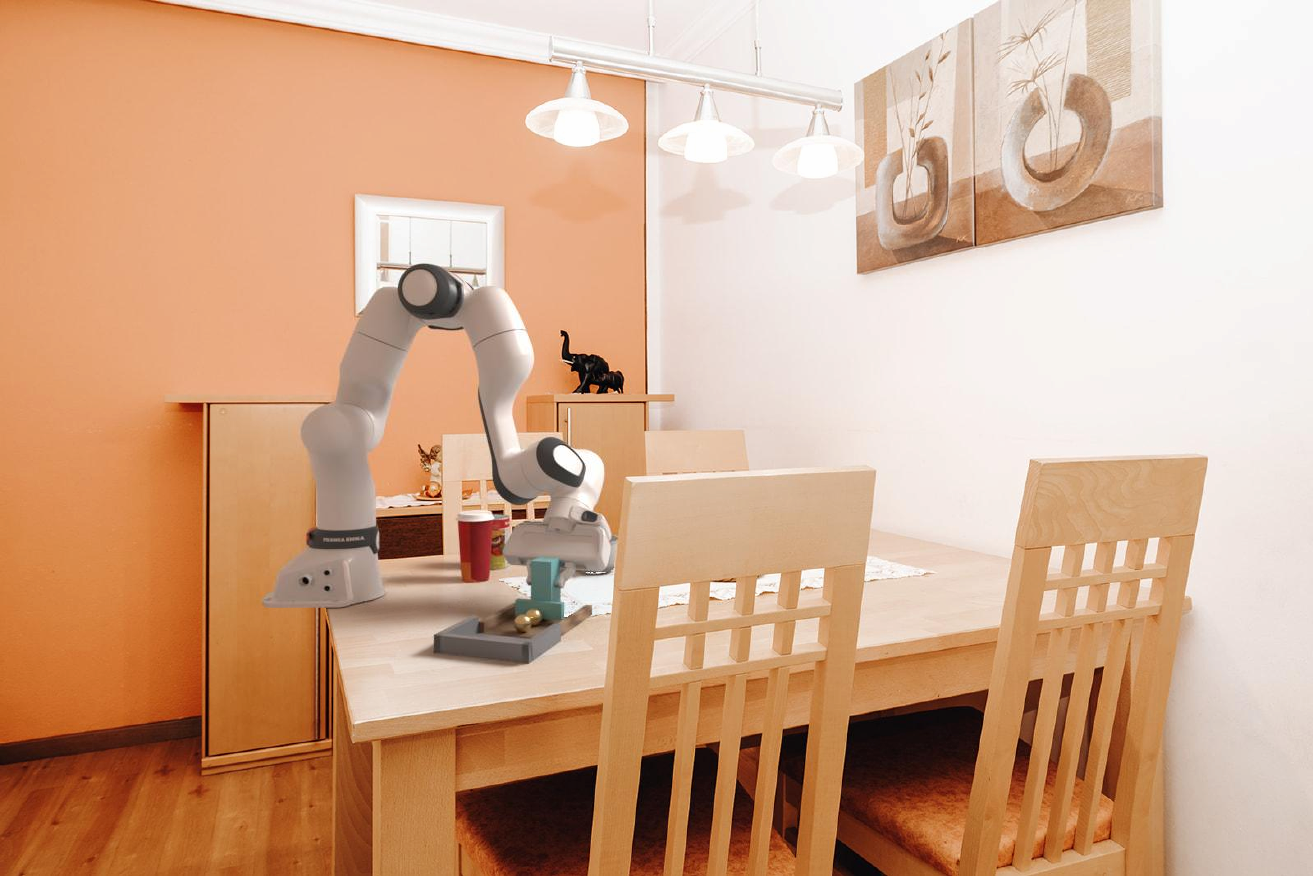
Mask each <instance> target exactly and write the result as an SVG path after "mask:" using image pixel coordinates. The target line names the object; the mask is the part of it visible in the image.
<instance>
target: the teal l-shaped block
mask: <svg viewBox="0 0 1313 876" xmlns="http://www.w3.org/2000/svg"><path fill="white" fill-rule="evenodd" d="M561 572H562V571H561V561H560V558H548V557H538V558H536V559H534V560H531V586H530V599H529V598H516V599H514V603H515V616H516V617H517V616H519V615H522V614H526V612H527V611H528V610H530V609H532V608H535V609H538V610H539V611H540V612H541V614H542V619H548V620H558V621H562V620H563V619H564V612H565V602H564V601H561V600H562V599H561V597H562V596H561V590H562V588H555V586H554V580H555V576H556V575H561V574H562V573H561Z"/></svg>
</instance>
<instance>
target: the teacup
mask: <svg viewBox="0 0 1313 876" xmlns="http://www.w3.org/2000/svg"><path fill="white" fill-rule="evenodd" d="M618 537H619V535H616V534H611V539H610V541H609V543H610V546H611V550H610V556H609V561H608V564H607V567H606V568H605V569H604V570H602V571H587V570H581V571H582V572H583V573H585V572H590V573H591V572H593V573H596V572H608V573H611V572H612V571H613V570H614V569H615V568H614V562H615V554H616V545H617V542H618ZM611 570H612V571H611ZM610 571H611V572H610Z"/></svg>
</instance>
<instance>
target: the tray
mask: <svg viewBox="0 0 1313 876" xmlns="http://www.w3.org/2000/svg"><path fill="white" fill-rule="evenodd" d="M479 621H480V620H479V615H471V616H468V617H467V618H465V619H463V620H461V621H458V622H457V623H454V624H453V625H451V626H448V627H447V628H444V629H443V630H441V631H438V632H437V633H435V634H433V653H434V654H442V655H449V656H450V655H451V656H459V657H466V658H467V657H468V658H475V659H477V658H478V659H485V660H494V661H503V662H510V663H521V664H528V665H529V664H530V663H533V662H534V661H535V660H536V659H538V658H539V657H540V656H542V655H544V654H545V653H547V652H548V651H549V650H551V649H552V648H553V647H555V646H556V645H557V644H560V643H561V641H562V636H561V624H555V623H554V624H552V625H551V626H549V627H548V628H546V629H545V630H543V631H542V632H540V633H538V634H537V635H535V636H534V637H532V638H530V639H529V638H528V639H527V637H526V638H524V637H521V638H520V637H518V636H515V637H510V636H509V635H507V636H506V635H505V636H503V635H499V634H496V635H494V634H493V635H492V634H490V635H487V633H486V634H484V633H479ZM498 635H499V636H498ZM517 637H518V638H517Z"/></svg>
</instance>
